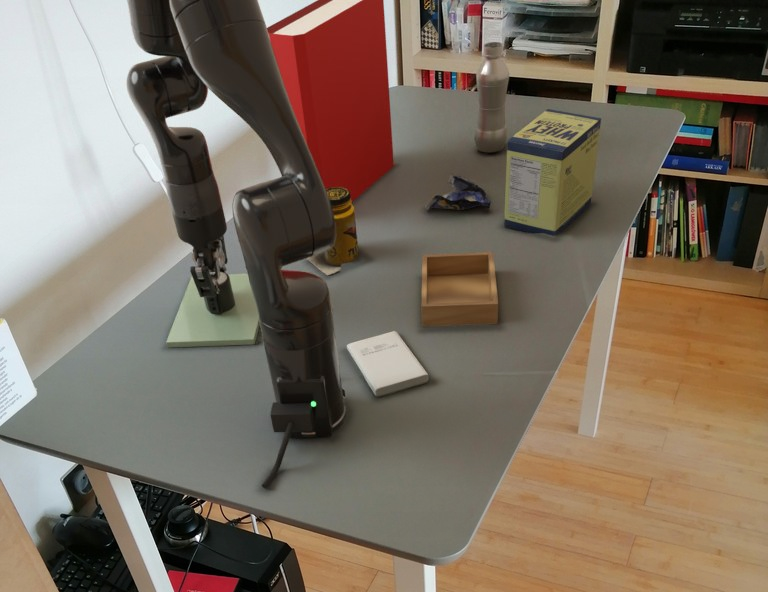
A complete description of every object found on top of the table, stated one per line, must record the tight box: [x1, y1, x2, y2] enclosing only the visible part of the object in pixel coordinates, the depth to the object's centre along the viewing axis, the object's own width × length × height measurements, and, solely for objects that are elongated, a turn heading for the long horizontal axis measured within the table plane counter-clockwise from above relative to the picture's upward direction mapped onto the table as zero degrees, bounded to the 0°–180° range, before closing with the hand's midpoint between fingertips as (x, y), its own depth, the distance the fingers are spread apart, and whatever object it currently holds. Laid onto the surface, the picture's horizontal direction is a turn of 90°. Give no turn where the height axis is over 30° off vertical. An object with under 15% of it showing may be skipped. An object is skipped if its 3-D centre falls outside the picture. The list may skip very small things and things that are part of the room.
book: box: [267, 0, 395, 202], centre depth 151 cm, size 27×8×32 cm, turn 151°
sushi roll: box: [204, 272, 235, 312], centre depth 133 cm, size 5×5×5 cm
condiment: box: [306, 187, 359, 276], centre depth 140 cm, size 7×8×12 cm
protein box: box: [503, 108, 602, 237], centre depth 144 cm, size 10×16×16 cm
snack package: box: [424, 173, 492, 213], centre depth 153 cm, size 12×6×12 cm
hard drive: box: [346, 330, 429, 398], centre depth 121 cm, size 2×8×12 cm
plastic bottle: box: [474, 41, 510, 153], centre depth 164 cm, size 6×7×20 cm
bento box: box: [420, 251, 499, 327], centre depth 130 cm, size 16×12×4 cm
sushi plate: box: [165, 273, 260, 348], centre depth 135 cm, size 20×14×1 cm
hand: (220, 303), depth 134 cm, fingers closed on sushi roll, 4 cm apart
